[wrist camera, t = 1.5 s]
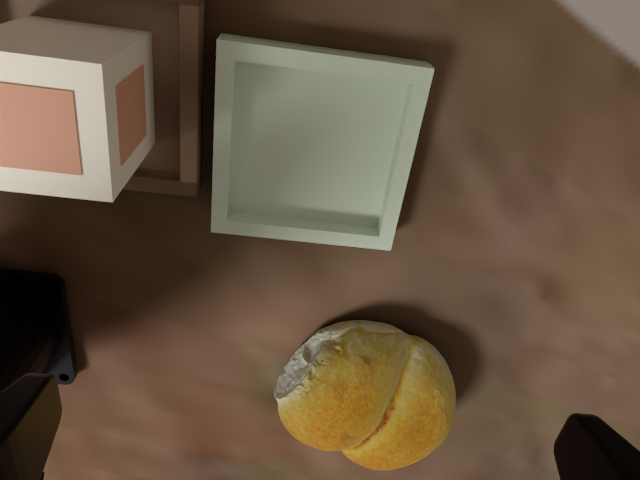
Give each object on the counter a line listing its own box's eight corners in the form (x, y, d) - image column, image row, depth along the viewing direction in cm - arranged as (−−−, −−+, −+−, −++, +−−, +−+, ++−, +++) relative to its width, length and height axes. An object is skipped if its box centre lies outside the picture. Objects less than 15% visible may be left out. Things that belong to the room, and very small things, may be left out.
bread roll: (388, 448, 30) (399, 515, 27) (256, 391, 27) (249, 457, 24) (485, 362, 27) (511, 426, 23) (345, 286, 24) (351, 346, 21)
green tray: (386, 236, 22) (390, 250, 21) (215, 217, 22) (210, 232, 21) (427, 61, 19) (434, 68, 18) (221, 32, 18) (216, 38, 17)
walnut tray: (201, 184, 21) (196, 197, 20) (11, 163, 20) (-5, 175, 19) (205, -18, 17) (198, -14, 16) (-29, -51, 16) (-51, -51, 15)
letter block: (156, 143, 19) (114, 203, 15) (45, 130, 19) (-31, 188, 15) (153, 32, 17) (103, 65, 13) (29, 15, 17) (-64, 43, 13)
